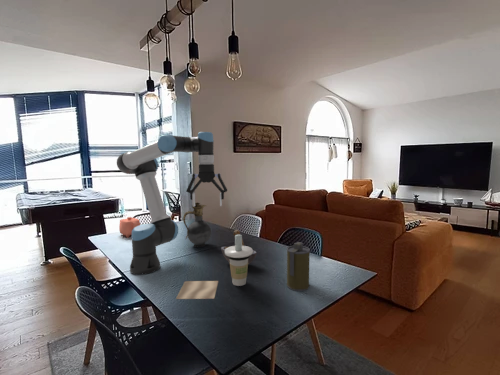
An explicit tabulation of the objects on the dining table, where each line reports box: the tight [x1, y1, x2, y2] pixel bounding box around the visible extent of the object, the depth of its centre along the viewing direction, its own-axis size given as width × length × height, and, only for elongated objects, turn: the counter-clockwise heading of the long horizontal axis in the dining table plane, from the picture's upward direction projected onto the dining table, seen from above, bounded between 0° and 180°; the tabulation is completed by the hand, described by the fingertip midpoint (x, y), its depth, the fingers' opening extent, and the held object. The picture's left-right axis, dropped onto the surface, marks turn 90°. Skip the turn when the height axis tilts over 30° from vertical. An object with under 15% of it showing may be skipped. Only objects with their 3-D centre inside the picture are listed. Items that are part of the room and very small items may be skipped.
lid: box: [225, 233, 254, 258], centre depth 122 cm, size 13×13×8 cm
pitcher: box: [182, 202, 212, 248], centre depth 176 cm, size 11×19×30 cm, turn 131°
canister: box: [286, 241, 311, 292], centre depth 120 cm, size 11×10×20 cm
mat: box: [175, 280, 219, 300], centre depth 118 cm, size 16×16×1 cm
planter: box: [220, 229, 257, 265], centre depth 145 cm, size 15×17×20 cm
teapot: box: [119, 216, 141, 238], centre depth 206 cm, size 22×13×14 cm, turn 46°
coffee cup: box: [228, 256, 249, 287], centre depth 123 cm, size 10×10×15 cm
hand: (207, 206), depth 133 cm, fingers open, 13 cm apart
